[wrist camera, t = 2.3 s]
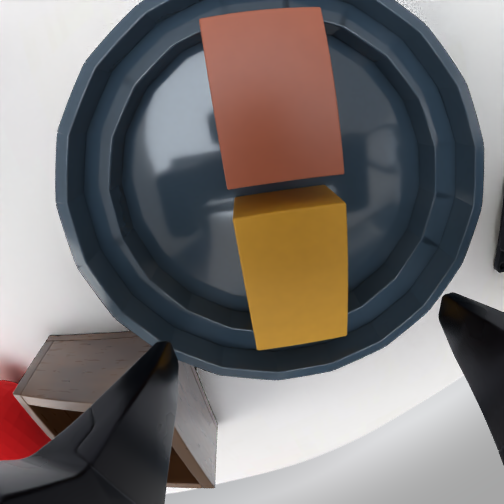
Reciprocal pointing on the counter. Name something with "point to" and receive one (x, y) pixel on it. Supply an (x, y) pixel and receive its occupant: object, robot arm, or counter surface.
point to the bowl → (222, 200)
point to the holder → (100, 380)
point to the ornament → (17, 427)
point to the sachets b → (273, 95)
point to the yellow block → (294, 264)
